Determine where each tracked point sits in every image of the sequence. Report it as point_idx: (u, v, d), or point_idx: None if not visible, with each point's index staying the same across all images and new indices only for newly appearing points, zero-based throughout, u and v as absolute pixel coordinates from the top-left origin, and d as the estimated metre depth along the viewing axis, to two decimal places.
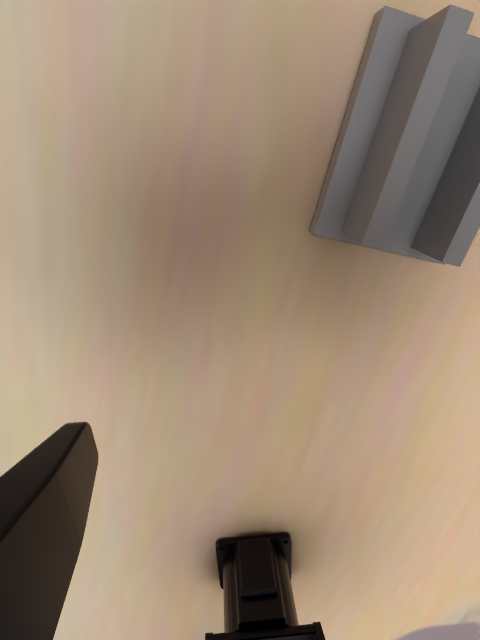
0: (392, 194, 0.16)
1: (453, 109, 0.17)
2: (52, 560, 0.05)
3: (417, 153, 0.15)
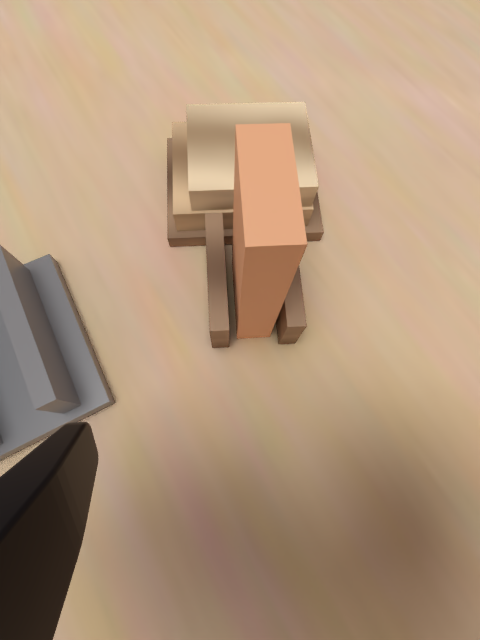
0: None
1: None
2: (52, 560, 0.05)
3: None
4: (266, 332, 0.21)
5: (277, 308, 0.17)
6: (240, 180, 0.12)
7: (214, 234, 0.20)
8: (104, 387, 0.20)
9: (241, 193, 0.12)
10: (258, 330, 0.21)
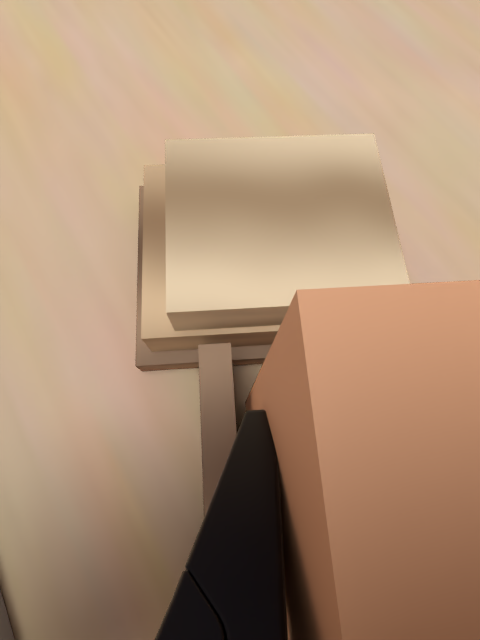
0: None
1: None
2: None
3: None
4: None
5: None
6: (335, 575, 0.03)
7: (217, 389, 0.11)
8: None
9: None
10: None
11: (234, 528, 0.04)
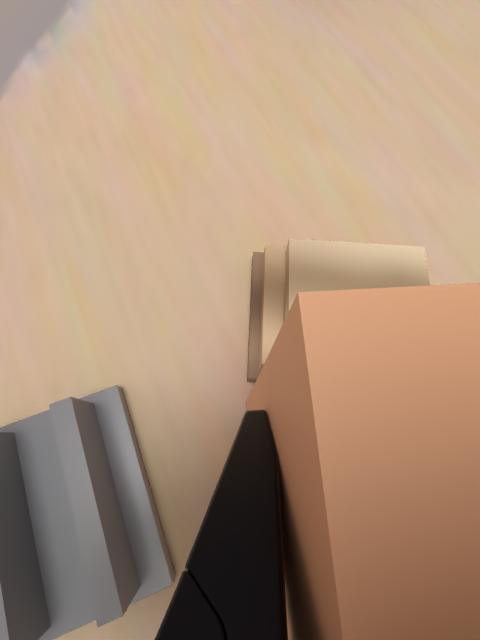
0: None
1: None
2: None
3: None
4: None
5: None
6: (335, 570, 0.03)
7: None
8: (167, 564, 0.17)
9: None
10: None
11: (234, 528, 0.04)
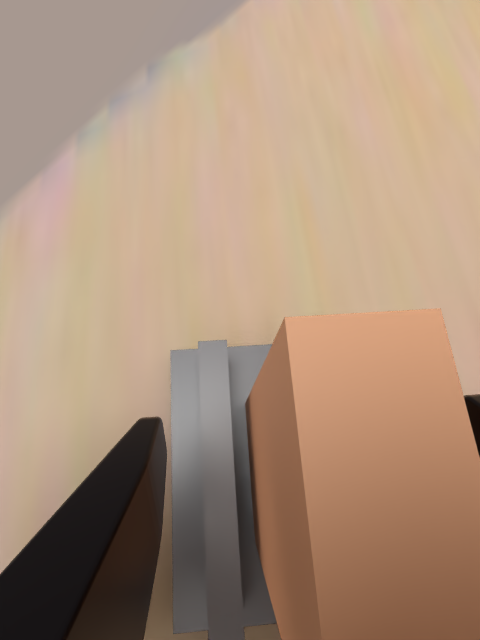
0: (223, 559, 0.11)
1: None
2: (145, 552, 0.05)
3: (233, 491, 0.11)
4: None
5: None
6: (311, 537, 0.04)
7: None
8: None
9: (317, 592, 0.04)
10: None
11: (60, 543, 0.04)
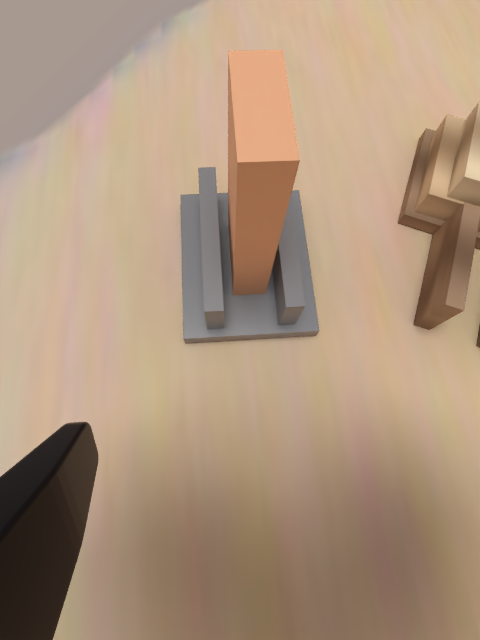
0: (212, 269, 0.19)
1: None
2: (52, 560, 0.05)
3: (218, 239, 0.20)
4: (262, 287, 0.21)
5: (272, 252, 0.17)
6: (233, 102, 0.12)
7: (469, 223, 0.21)
8: (317, 318, 0.22)
9: (234, 114, 0.12)
10: (254, 284, 0.21)
11: None
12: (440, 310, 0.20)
